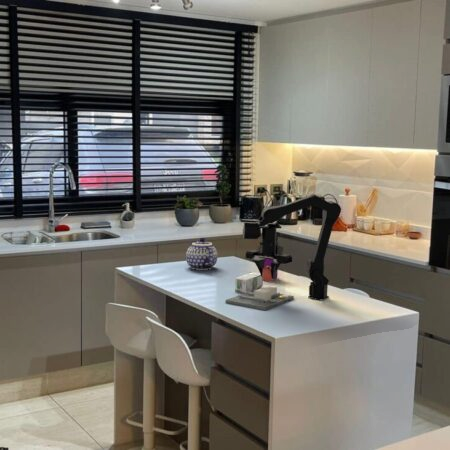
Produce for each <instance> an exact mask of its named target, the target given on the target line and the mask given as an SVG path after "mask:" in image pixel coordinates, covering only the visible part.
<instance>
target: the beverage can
mask: <svg viewBox="0 0 450 450" xmlns="http://www.w3.org/2000/svg"><path fill="white" fill-rule="evenodd" d="M276 255H277V254H276ZM264 259H265V258H264ZM272 262H274V260H273V259H266V260H265V263H264V267H266V266H270V267H271V263H272ZM278 270H279V269H278ZM278 270H277V272H276V275H275V277H274V279H275V280H276V279H277V278H278V276H279V275H278V274H279V273H278ZM274 279H273V281H275V280H274Z"/></svg>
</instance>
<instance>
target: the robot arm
mask: <svg viewBox="0 0 450 450" xmlns="http://www.w3.org/2000/svg"><path fill="white" fill-rule="evenodd" d="M312 206H315V207H317V208H319V209H321V210H322V224H321V227H320V231H319V235H318V239H317V241H316V244H315V245H316V246H315V249H314V253H313V256H312V257H311V259H309V258H307V260H306V265H305V266H304V269H305V273H306V275H307V276H308V277H309V278H310V280H311V281H310V285H309V286H308V296H307V297H308V298H309V299H313V300H318V301H323V300H326V299H328V298H330V296H329V295H328V285H329V281H330V280H329V279H328V278H327V277H326V275H325V274H324V272H325V257H326V252H327V248H328V246H329V245H328V244H329V242H330V237H331V234H332V231H333V227H334V226H335V224H336V223H337V221H338V220H339V216H340V215H341V212H342V207H341V206H340V204H339V203H336V202H335V201H333V200H332V201H331V200H328V201H327V200H325V199H323V198H321V197H319V196H318V195H316V194H309V195H308V196H306V197H302V198H299V199H296V200H293V201H291V202H287V203H285V204H281V205H280V204H279V205H272V206H267V207H266V206H265V208H263V209H262V211H261V215H260V216H259V218H258V219H257V220H256V222H248V221H244V222H243V229H242V239H243V240H258V239H260V237H261V241H260V242H259V245H261V250H257V249H251V250H247V251H246V252H245V257H244V259H249V260H252V262H254V264H255V265H256V267H257V270H258V271H259V272H258V273H260V274H261V276H262V270H263V268H264V263H265V260H266V259H273V260H274V262H272V263H271V276H272V279H274V277H275V275H276V272H277V270H279V268H280V265H281V264H283V265H284V264H285V265H286V264H289V263H292V262H293V256H292V255H291V254H289V253H288V254H287V253H286V254H285V253H283V252H284V247H283V246H281V245H279V242H278V241H277V229H282V228H283V227H282V226H281V225H280V223H278V222H279V220H281V219H282V218H284V217H285V216H287V215H290V214H293V213H295V212H298V211H300V210H304V209H306V208H310V207H312ZM276 254H277V255H276ZM264 258H265V259H264Z"/></svg>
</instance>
